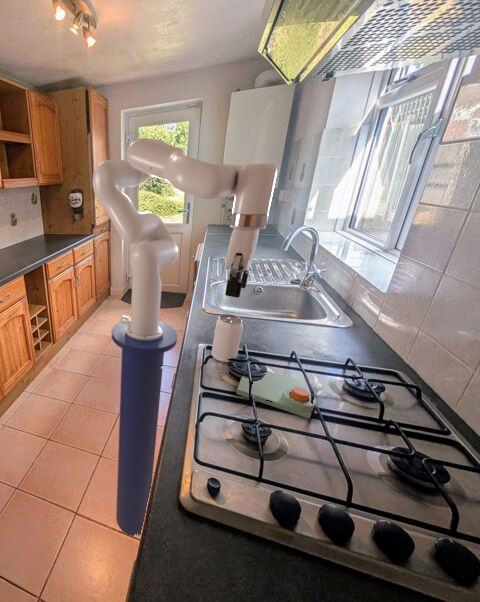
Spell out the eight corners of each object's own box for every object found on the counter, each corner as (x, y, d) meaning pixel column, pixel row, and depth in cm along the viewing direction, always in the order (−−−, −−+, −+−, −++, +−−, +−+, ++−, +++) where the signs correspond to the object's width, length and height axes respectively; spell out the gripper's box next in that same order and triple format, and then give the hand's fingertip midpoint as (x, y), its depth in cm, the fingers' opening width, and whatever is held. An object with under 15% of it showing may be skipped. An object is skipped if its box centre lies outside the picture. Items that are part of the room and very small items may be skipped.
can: (240, 356, 85) (247, 318, 80) (230, 366, 80) (238, 326, 76) (217, 348, 89) (223, 311, 84) (207, 357, 85) (213, 318, 80)
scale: (235, 395, 70) (237, 384, 69) (245, 369, 79) (247, 359, 78) (312, 421, 62) (316, 409, 61) (313, 389, 71) (316, 378, 70)
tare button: (290, 399, 64) (291, 392, 64) (291, 391, 67) (292, 385, 66) (307, 404, 63) (309, 397, 62) (307, 396, 65) (309, 390, 64)
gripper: (238, 216, 79) (227, 280, 86) (222, 224, 66) (211, 299, 73) (271, 217, 75) (257, 284, 82) (261, 227, 62) (245, 305, 69)
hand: (235, 291), depth 77 cm, fingers open, 7 cm apart
